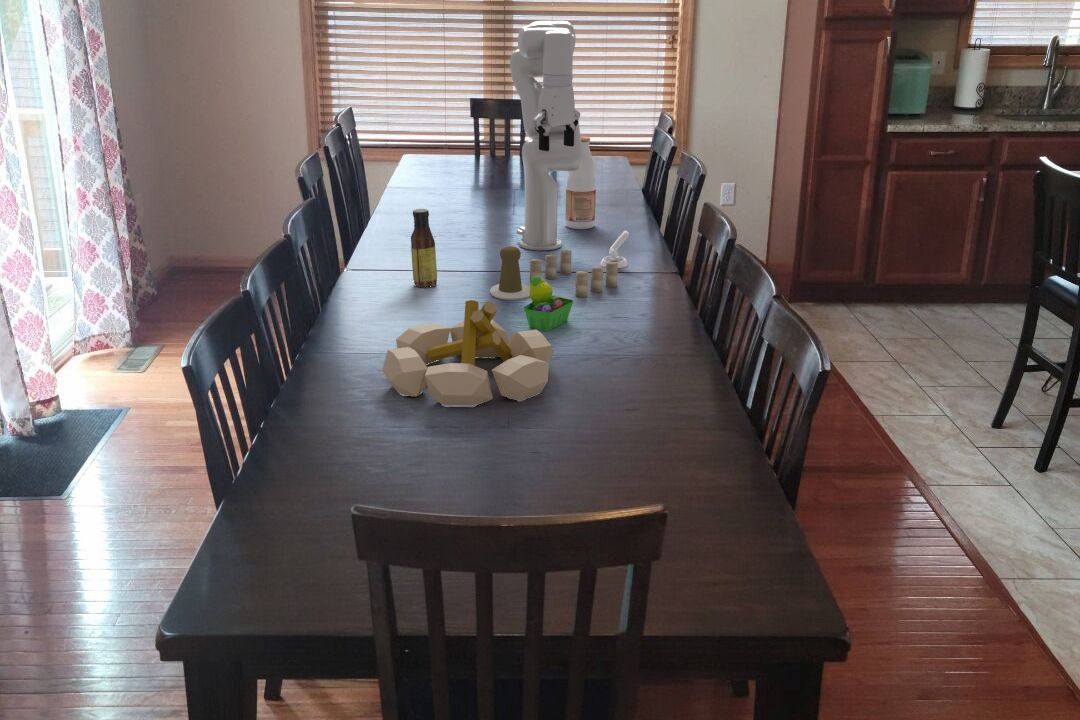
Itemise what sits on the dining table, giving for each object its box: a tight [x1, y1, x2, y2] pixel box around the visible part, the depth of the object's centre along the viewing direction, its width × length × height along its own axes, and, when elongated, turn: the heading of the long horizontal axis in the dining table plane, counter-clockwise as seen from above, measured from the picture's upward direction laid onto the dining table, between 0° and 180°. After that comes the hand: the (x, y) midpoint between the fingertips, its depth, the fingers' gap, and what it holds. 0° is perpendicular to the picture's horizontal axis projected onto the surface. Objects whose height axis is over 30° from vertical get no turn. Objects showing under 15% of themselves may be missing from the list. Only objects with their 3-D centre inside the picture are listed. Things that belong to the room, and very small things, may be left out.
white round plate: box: [489, 283, 530, 301], centre depth 268 cm, size 11×11×1 cm
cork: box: [498, 245, 523, 293], centre depth 265 cm, size 6×6×11 cm
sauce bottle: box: [410, 208, 438, 288], centre depth 270 cm, size 7×6×20 cm
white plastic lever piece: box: [600, 230, 630, 269], centre depth 292 cm, size 8×12×7 cm
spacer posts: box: [529, 249, 619, 298], centre depth 275 cm, size 19×15×6 cm
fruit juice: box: [565, 135, 597, 230], centre depth 328 cm, size 9×9×28 cm
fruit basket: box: [523, 276, 574, 332], centre depth 244 cm, size 11×9×11 cm
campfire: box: [382, 299, 555, 405], centre depth 212 cm, size 35×34×17 cm
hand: (556, 148), depth 275 cm, fingers open, 9 cm apart
